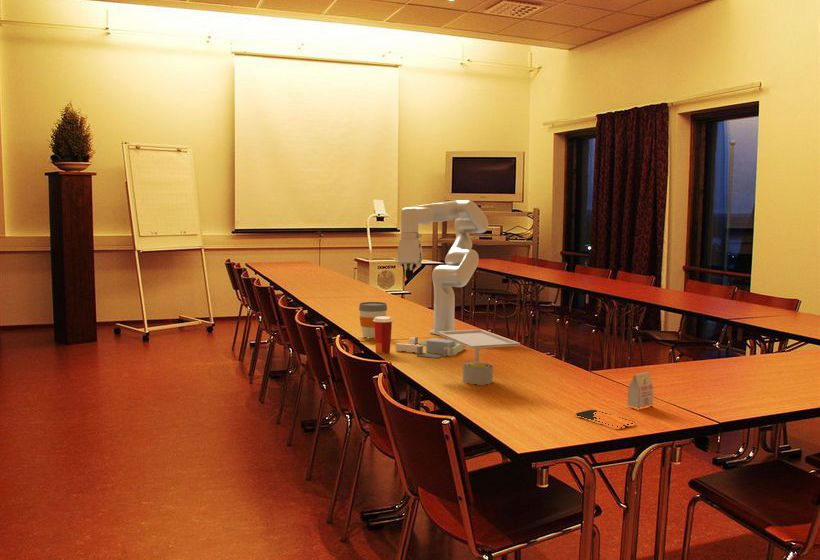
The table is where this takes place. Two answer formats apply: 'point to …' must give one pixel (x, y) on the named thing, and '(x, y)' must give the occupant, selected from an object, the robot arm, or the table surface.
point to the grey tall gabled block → (640, 391)
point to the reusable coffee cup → (370, 316)
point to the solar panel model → (477, 352)
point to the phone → (590, 415)
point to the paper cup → (382, 333)
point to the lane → (419, 350)
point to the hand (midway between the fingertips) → (409, 279)
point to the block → (438, 345)
